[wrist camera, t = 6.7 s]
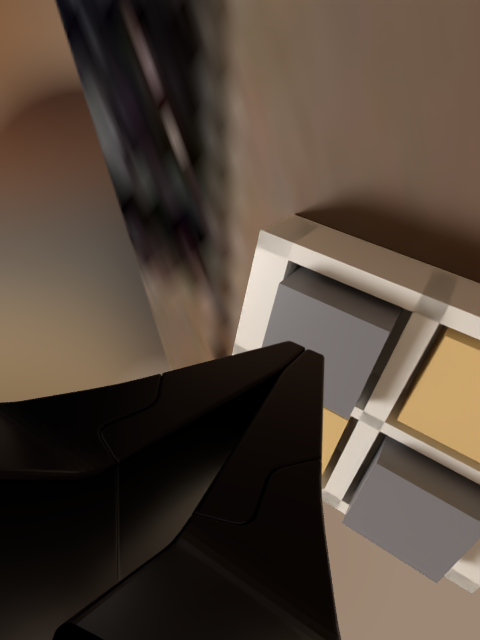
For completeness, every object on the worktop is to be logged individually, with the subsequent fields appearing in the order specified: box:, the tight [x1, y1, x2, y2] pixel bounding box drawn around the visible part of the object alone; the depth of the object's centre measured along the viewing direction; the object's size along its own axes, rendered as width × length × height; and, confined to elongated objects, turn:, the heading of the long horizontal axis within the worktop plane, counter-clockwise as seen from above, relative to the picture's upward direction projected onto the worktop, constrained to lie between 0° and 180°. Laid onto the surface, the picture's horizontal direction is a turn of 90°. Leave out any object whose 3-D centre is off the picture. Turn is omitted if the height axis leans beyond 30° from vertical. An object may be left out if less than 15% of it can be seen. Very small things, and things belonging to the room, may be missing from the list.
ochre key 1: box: [321, 406, 352, 475], centre depth 22 cm, size 5×5×3 cm
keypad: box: [232, 214, 480, 594], centre depth 20 cm, size 15×13×4 cm
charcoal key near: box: [262, 266, 403, 419], centre depth 18 cm, size 5×5×3 cm
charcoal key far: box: [342, 434, 480, 583], centre depth 19 cm, size 5×5×3 cm
